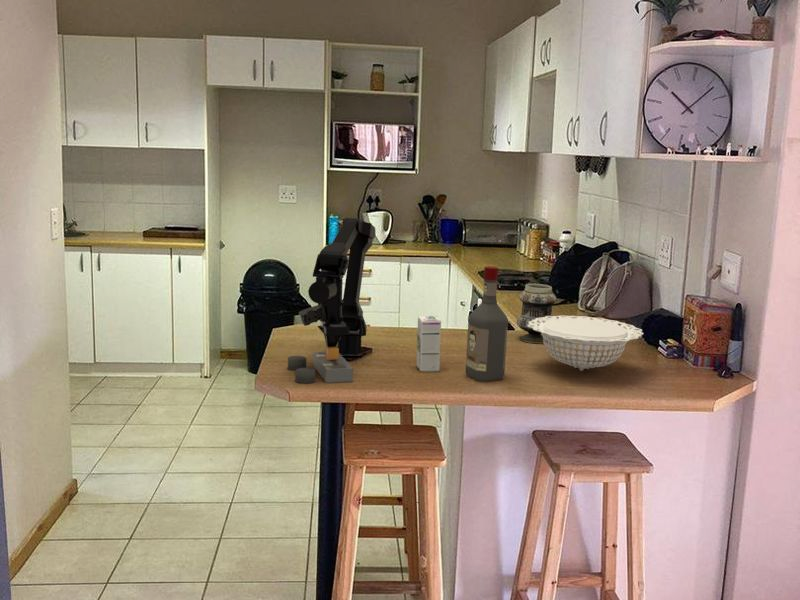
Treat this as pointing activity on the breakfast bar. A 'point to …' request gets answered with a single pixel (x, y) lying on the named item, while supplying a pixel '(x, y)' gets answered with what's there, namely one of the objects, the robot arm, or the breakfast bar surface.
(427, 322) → the syrup box
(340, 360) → the grey flat block
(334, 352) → the orange upright box
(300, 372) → the coil
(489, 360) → the liquor
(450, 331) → the breakfast bar surface
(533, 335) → the apothecary jar
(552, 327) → the colander
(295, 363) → the coil
